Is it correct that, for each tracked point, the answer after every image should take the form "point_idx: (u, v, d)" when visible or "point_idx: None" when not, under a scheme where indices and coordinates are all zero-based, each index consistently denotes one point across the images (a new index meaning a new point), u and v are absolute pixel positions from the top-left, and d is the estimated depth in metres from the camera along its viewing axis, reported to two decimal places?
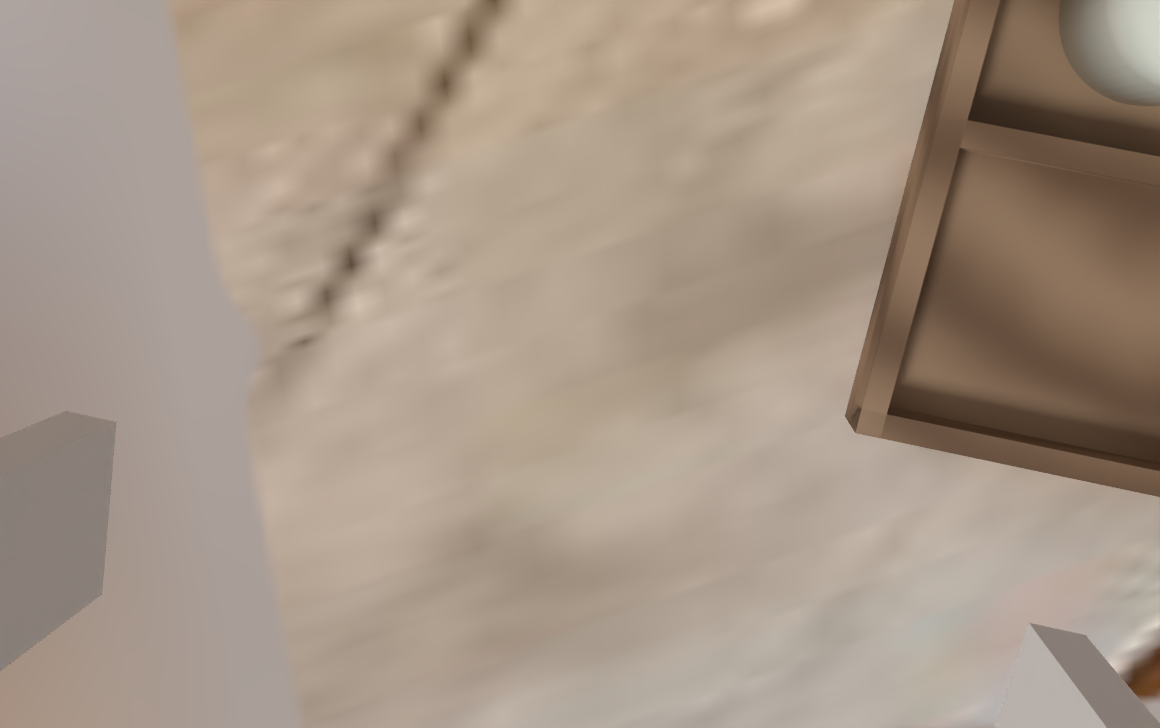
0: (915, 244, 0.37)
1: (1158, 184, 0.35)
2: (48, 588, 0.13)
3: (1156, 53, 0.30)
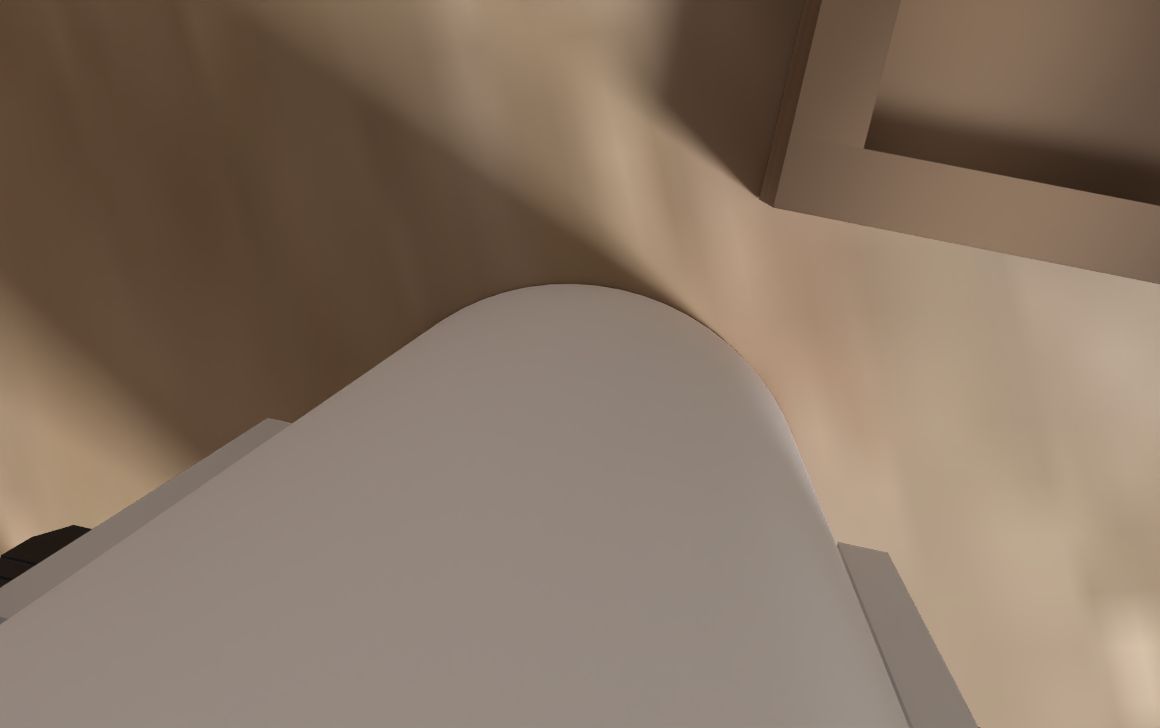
0: None
1: None
2: None
3: None
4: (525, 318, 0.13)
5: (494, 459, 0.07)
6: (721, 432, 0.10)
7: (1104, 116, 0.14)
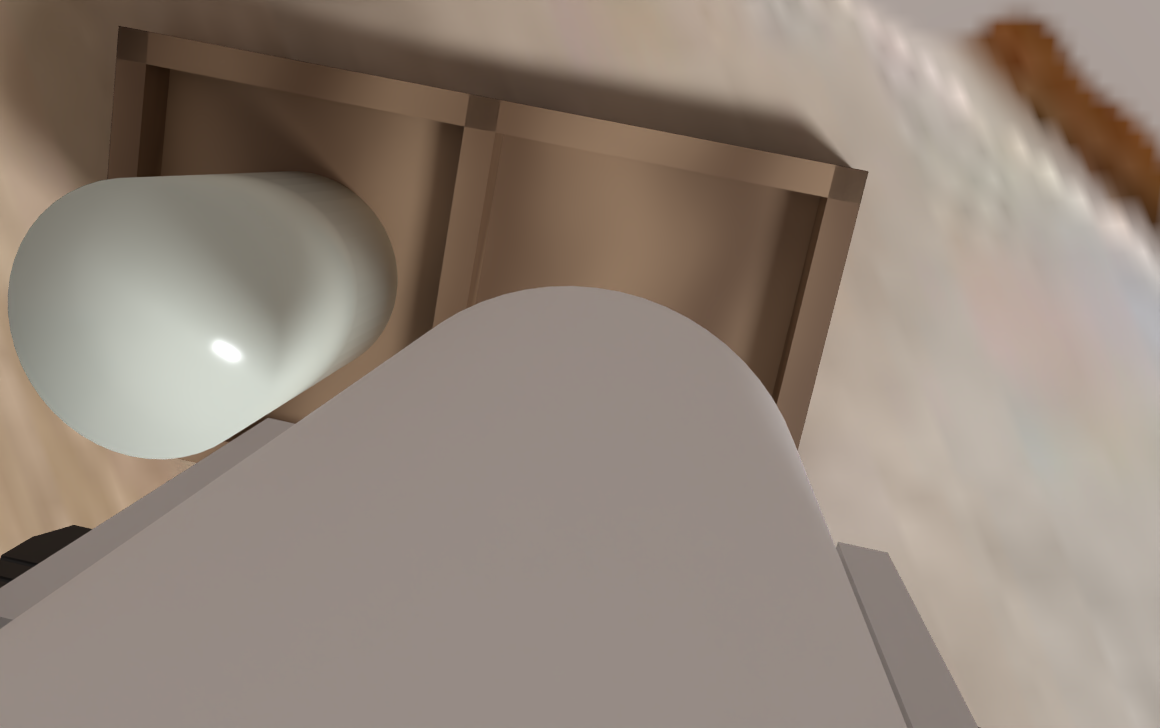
0: None
1: (470, 279, 0.31)
2: None
3: (292, 397, 0.28)
4: (524, 321, 0.13)
5: (492, 467, 0.07)
6: (720, 436, 0.10)
7: None
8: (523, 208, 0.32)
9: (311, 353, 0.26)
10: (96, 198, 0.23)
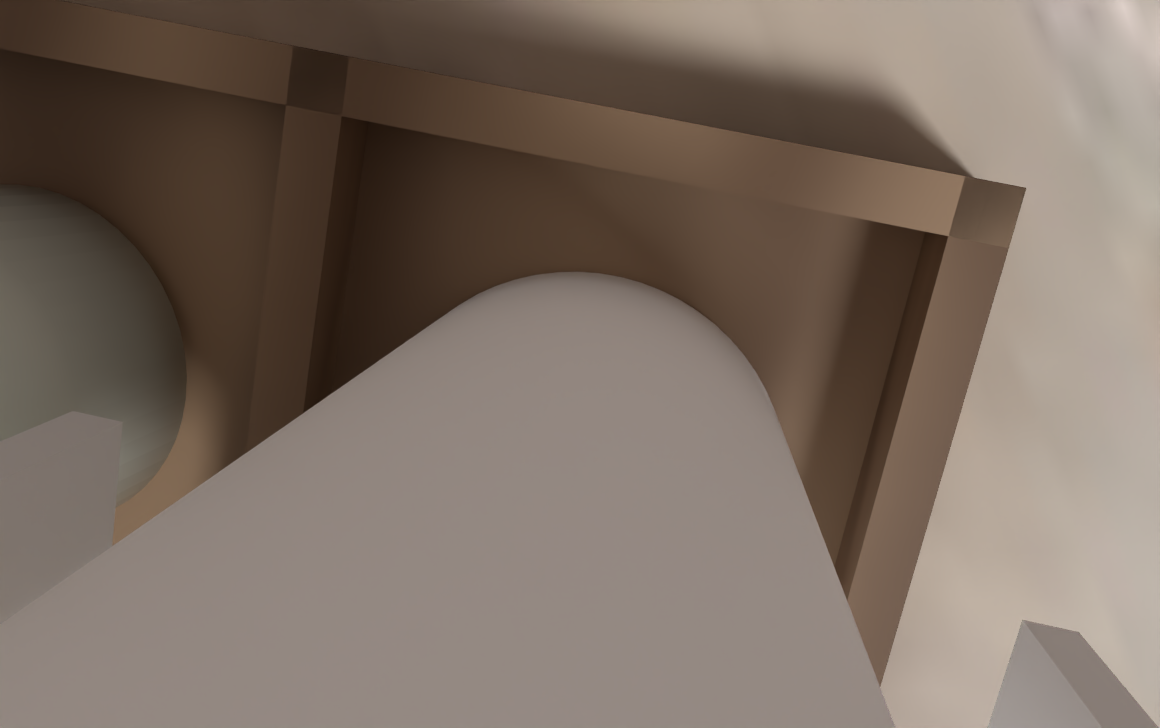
0: None
1: (306, 375, 0.18)
2: None
3: None
4: (537, 299, 0.15)
5: (523, 398, 0.09)
6: (706, 391, 0.12)
7: None
8: (406, 249, 0.19)
9: None
10: None
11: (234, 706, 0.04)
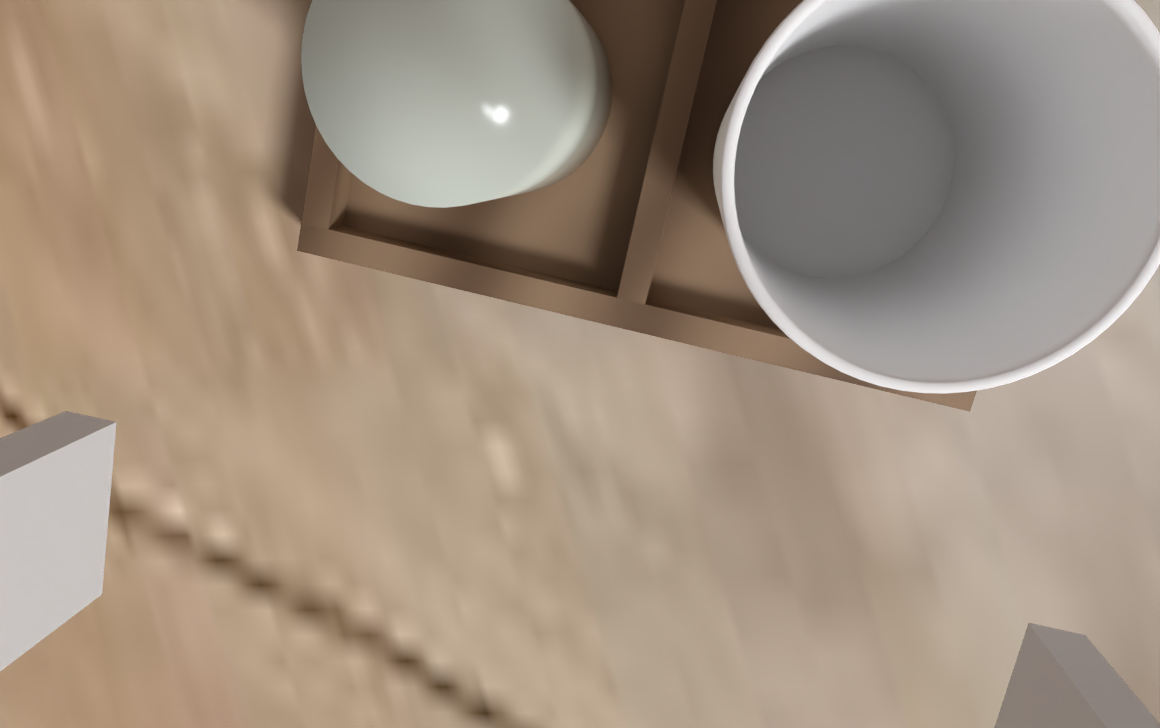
0: (748, 348, 0.33)
1: (694, 89, 0.32)
2: (48, 588, 0.13)
3: (543, 176, 0.28)
4: None
5: None
6: None
7: (440, 216, 0.35)
8: (745, 25, 0.32)
9: (577, 121, 0.26)
10: None
11: None
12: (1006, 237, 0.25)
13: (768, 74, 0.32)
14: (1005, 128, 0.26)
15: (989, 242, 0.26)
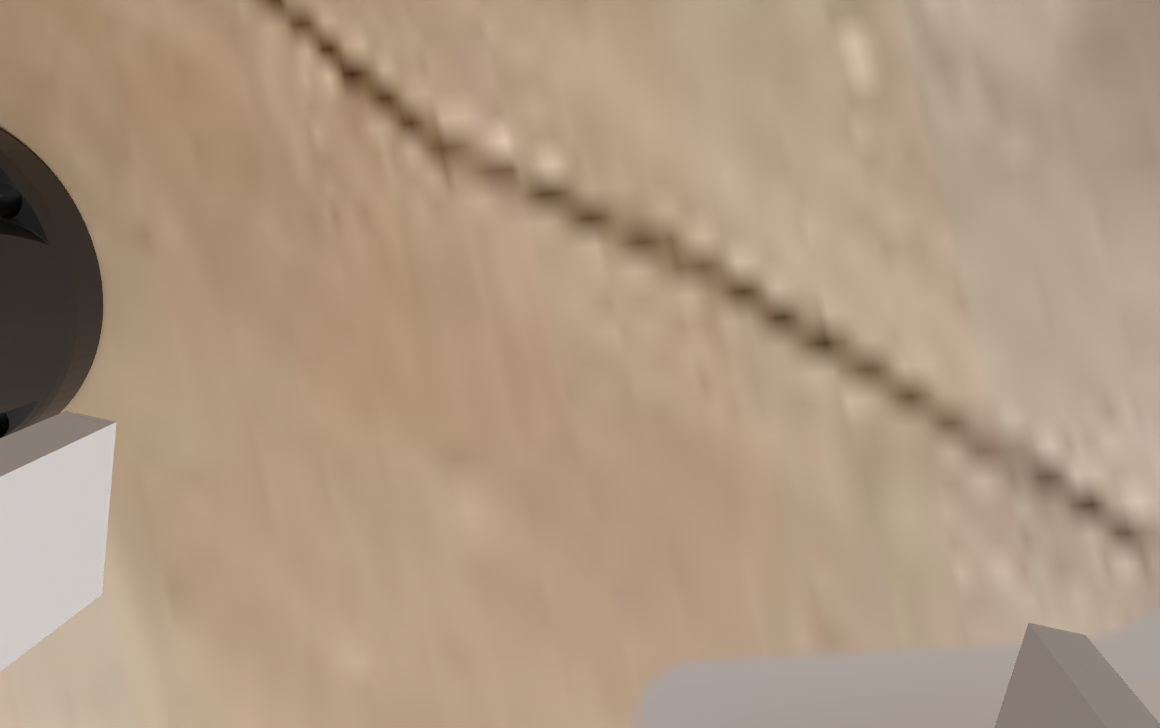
0: None
1: None
2: (48, 588, 0.13)
3: None
4: None
5: None
6: None
7: None
8: None
9: None
10: None
11: None
12: None
13: None
14: None
15: None
